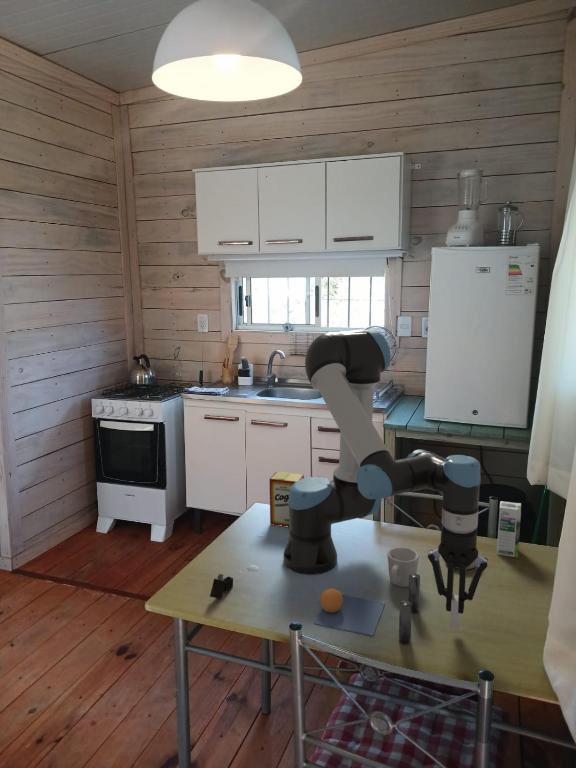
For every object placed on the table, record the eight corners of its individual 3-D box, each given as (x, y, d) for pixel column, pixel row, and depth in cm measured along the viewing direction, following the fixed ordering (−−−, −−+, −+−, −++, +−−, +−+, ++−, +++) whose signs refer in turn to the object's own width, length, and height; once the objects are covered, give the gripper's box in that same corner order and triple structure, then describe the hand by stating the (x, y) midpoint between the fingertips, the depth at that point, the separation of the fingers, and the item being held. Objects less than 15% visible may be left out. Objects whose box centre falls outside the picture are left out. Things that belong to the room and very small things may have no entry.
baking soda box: (304, 520, 196) (304, 473, 193) (298, 528, 190) (298, 480, 187) (276, 516, 199) (276, 470, 196) (270, 524, 193) (269, 477, 190)
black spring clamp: (222, 598, 156) (227, 575, 158) (230, 600, 155) (235, 577, 157) (207, 595, 148) (212, 572, 150) (214, 597, 147) (220, 574, 149)
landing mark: (313, 623, 140) (313, 623, 140) (330, 593, 153) (330, 592, 153) (372, 636, 135) (372, 635, 135) (385, 603, 148) (385, 602, 148)
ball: (313, 608, 144) (322, 591, 142) (320, 597, 149) (329, 580, 147) (333, 621, 142) (343, 604, 141) (339, 609, 148) (349, 592, 146)
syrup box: (496, 555, 172) (499, 507, 169) (497, 545, 177) (500, 499, 174) (517, 558, 170) (521, 510, 167) (517, 549, 175) (521, 502, 172)
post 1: (397, 642, 133) (398, 606, 131) (399, 636, 135) (400, 599, 133) (409, 645, 132) (410, 608, 130) (411, 638, 134) (412, 602, 133)
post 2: (407, 612, 144) (408, 577, 143) (408, 606, 147) (409, 572, 145) (417, 614, 144) (419, 579, 142) (419, 608, 146) (420, 574, 144)
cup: (407, 598, 150) (408, 569, 149) (377, 589, 154) (378, 561, 153) (422, 579, 159) (423, 551, 158) (393, 571, 163) (394, 544, 162)
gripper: (426, 529, 130) (422, 627, 134) (490, 538, 125) (483, 639, 130) (430, 515, 136) (426, 609, 141) (491, 523, 132) (485, 620, 137)
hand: (454, 624), depth 136 cm, fingers closed
